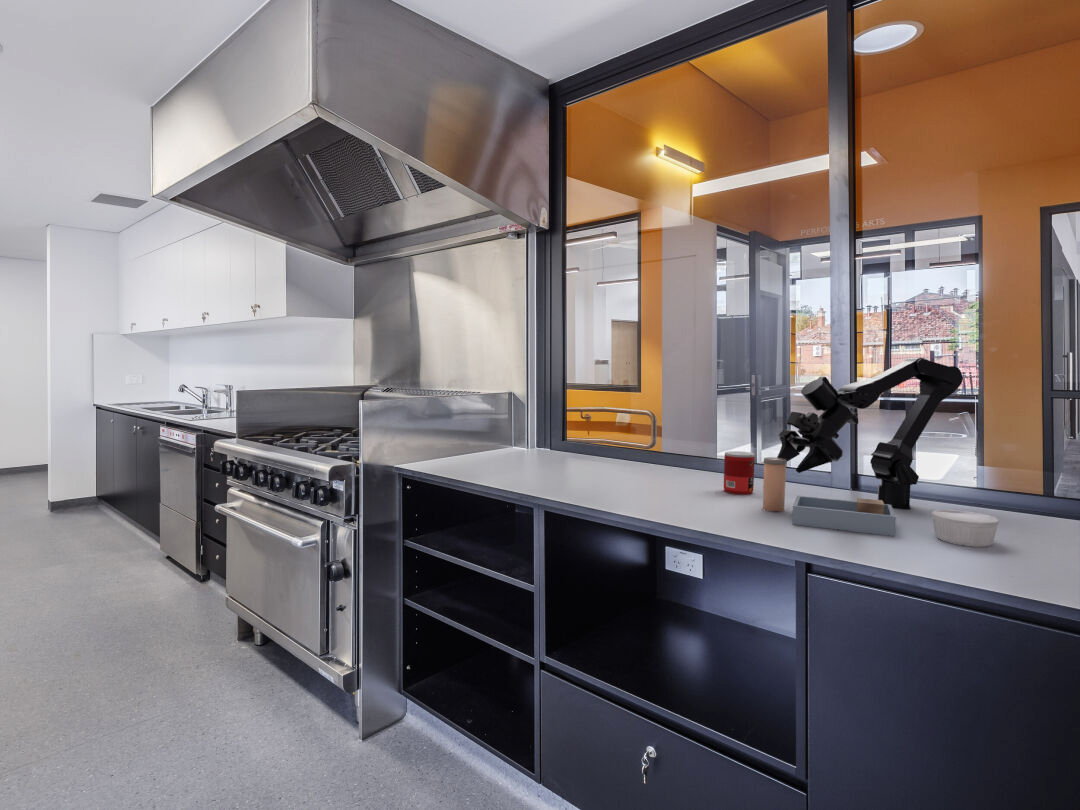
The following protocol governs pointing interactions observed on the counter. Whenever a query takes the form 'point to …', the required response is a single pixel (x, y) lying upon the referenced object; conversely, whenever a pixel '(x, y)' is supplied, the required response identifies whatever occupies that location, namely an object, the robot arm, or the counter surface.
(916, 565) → the counter surface
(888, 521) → the tote
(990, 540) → the ramekin
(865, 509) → the cube
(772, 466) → the shaker
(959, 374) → the robot arm
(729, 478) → the canned food
